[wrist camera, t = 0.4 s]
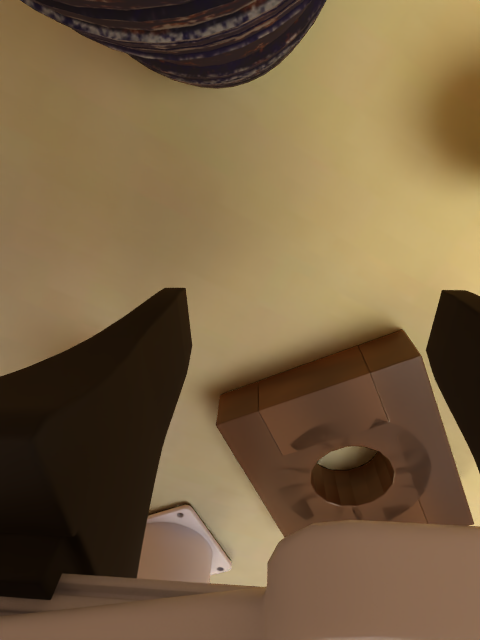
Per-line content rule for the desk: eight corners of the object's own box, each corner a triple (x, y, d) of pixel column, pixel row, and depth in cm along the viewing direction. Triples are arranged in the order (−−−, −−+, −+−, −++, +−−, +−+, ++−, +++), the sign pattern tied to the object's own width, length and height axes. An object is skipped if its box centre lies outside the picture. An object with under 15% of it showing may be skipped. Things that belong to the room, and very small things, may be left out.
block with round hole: (298, 528, 32) (301, 566, 29) (219, 394, 26) (215, 425, 24) (454, 487, 29) (474, 524, 26) (402, 328, 24) (421, 355, 21)
